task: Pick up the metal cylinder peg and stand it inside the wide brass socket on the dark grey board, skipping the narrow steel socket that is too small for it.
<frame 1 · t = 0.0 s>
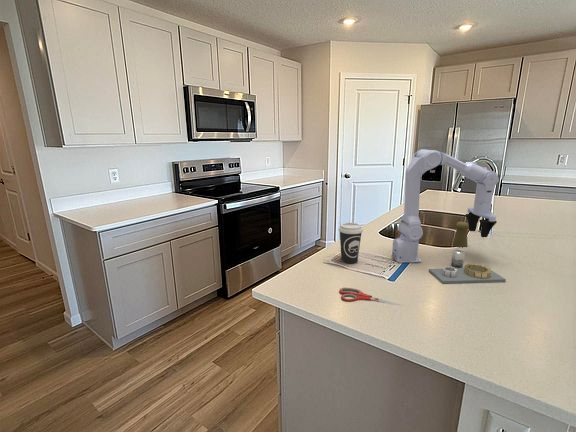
hand: (477, 233, 125), 10 cm above the worktop, tool pointing down, fingers open, 7 cm apart
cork: (459, 245, 141), on the worktop
scissors: (372, 300, 97), on the worktop
fitting board: (465, 276, 111), on the worktop
wide socket: (476, 276, 111), resting on fitting board
coffee cup: (349, 261, 126), on the worktop
narrow socket: (449, 276, 111), resting on fitting board
metal cylinder peg: (456, 266, 120), on the worktop
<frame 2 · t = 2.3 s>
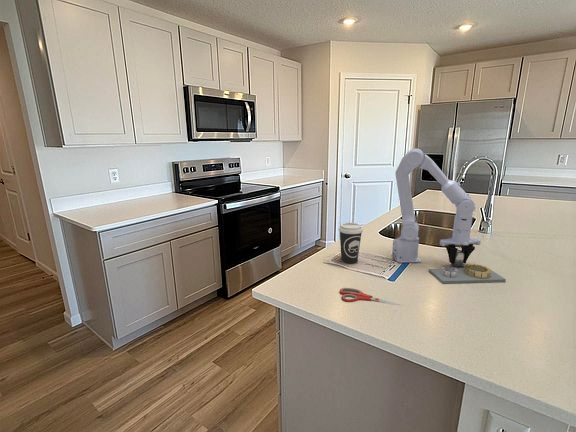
hand: (457, 262, 119), 1 cm above the worktop, tool pointing down, fingers closed on metal cylinder peg, 4 cm apart
metal cylinder peg: (456, 266, 120), on the worktop, touching gripper
everything else where it was.
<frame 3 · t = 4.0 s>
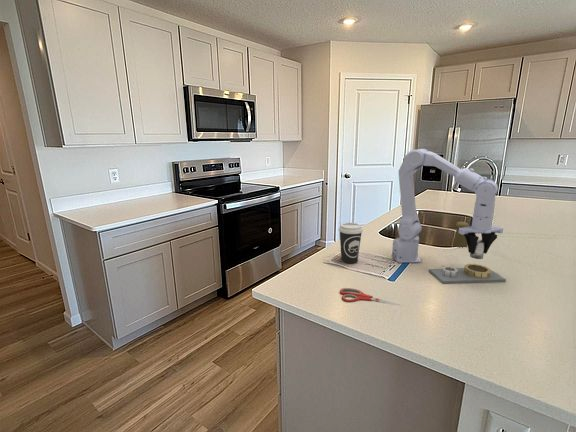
hand: (477, 252, 110), 9 cm above the worktop, tool pointing down, fingers closed on metal cylinder peg, 4 cm apart
metal cylinder peg: (476, 257, 110), point 7 cm above the worktop, touching gripper
everything else where it was.
when the fingers open (4 cm above the worktop, at t = 5.8 s): metal cylinder peg drops 1 cm, resting on fitting board.
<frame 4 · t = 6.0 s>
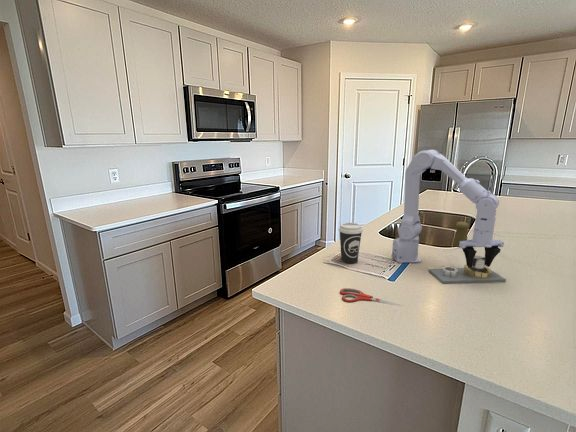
hand: (478, 266, 110), 4 cm above the worktop, tool pointing down, fingers open, 6 cm apart
metal cylinder peg: (476, 273, 111), point 1 cm above the worktop, touching fitting board
everything else where it was.
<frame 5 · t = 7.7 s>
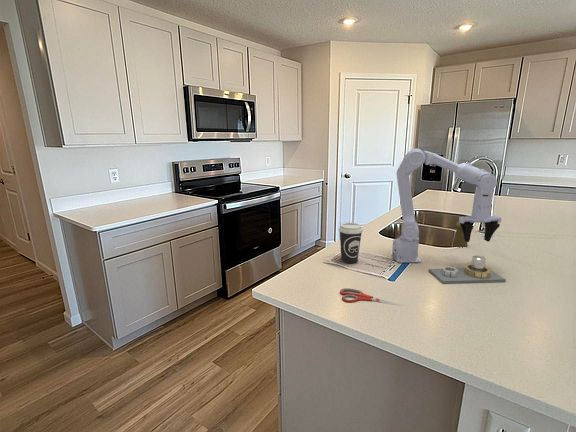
hand: (476, 240, 116), 10 cm above the worktop, tool pointing down, fingers open, 7 cm apart
nothing on the worktop moved.
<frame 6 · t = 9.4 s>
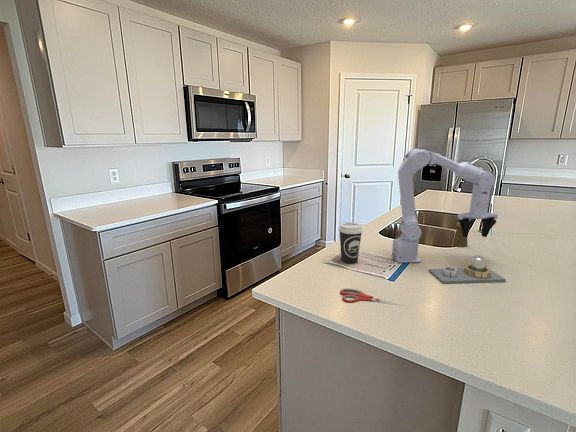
hand: (474, 236, 121), 10 cm above the worktop, tool pointing down, fingers open, 7 cm apart
nothing on the worktop moved.
at the end: metal cylinder peg 0.1 cm off-centre on the wide socket, point 1.0 cm above the wide socket's base; metal cylinder peg tilted 0°; the gripper is holding nothing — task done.
